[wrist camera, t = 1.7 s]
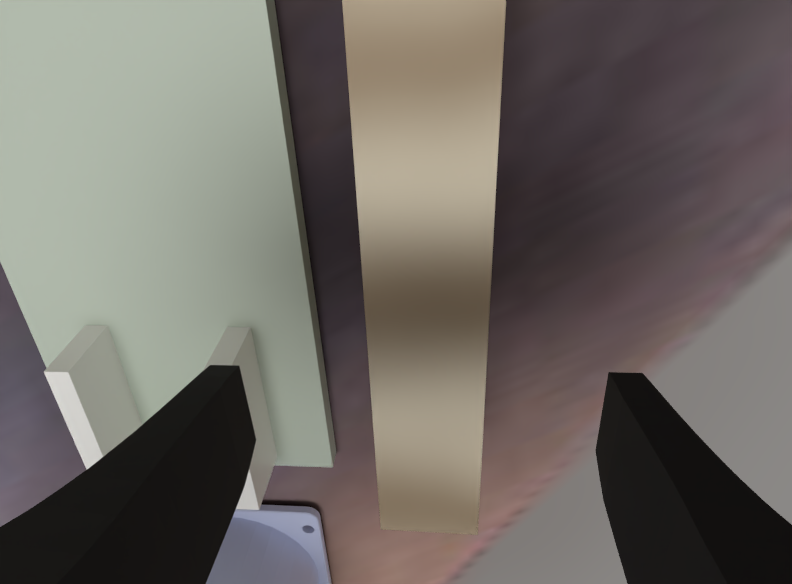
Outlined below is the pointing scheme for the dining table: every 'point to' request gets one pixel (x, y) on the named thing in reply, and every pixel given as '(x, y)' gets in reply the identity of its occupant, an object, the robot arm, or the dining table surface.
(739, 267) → the dining table surface
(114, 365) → the end caps
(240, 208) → the cap board
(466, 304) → the slat
